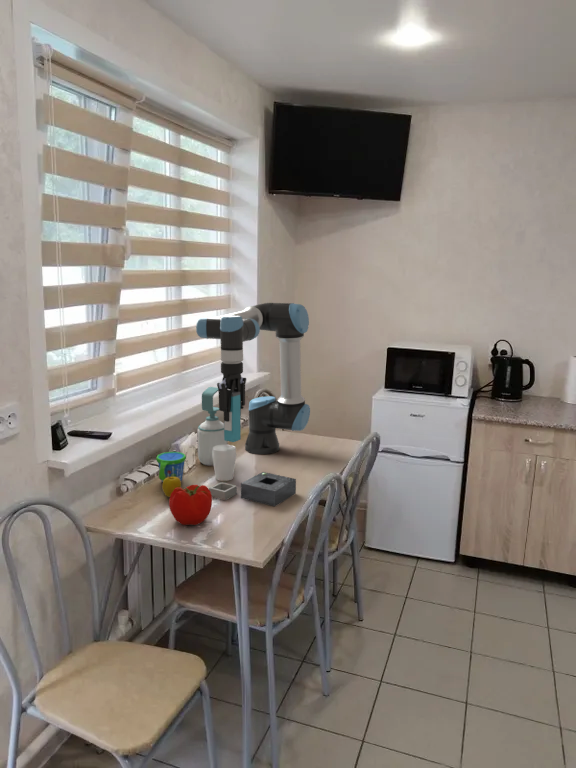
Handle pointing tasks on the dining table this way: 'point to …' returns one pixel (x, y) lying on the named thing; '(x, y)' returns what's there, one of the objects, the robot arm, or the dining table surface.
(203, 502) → the tomato
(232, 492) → the holster
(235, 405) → the plug
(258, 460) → the dining table surface
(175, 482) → the apple
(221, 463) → the cup
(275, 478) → the port
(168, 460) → the snack cup
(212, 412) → the soap bottle
